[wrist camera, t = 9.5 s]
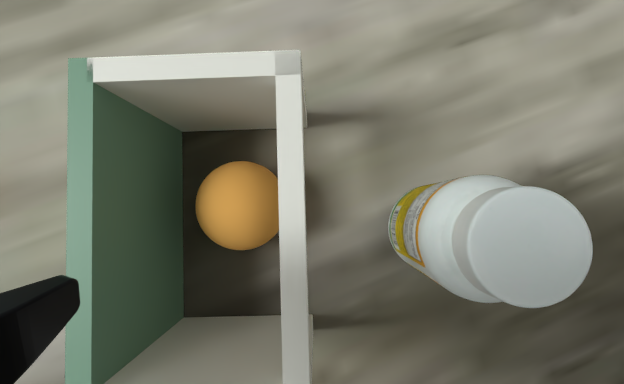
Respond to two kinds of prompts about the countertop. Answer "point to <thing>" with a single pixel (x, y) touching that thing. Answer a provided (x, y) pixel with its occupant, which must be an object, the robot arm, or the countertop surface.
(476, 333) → the countertop surface
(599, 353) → the countertop surface
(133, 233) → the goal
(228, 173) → the ball
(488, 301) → the supplement bottle
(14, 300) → the robot arm
